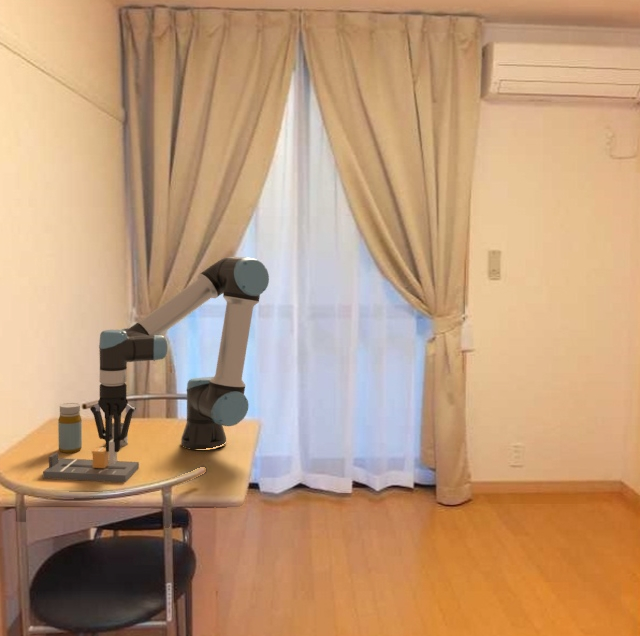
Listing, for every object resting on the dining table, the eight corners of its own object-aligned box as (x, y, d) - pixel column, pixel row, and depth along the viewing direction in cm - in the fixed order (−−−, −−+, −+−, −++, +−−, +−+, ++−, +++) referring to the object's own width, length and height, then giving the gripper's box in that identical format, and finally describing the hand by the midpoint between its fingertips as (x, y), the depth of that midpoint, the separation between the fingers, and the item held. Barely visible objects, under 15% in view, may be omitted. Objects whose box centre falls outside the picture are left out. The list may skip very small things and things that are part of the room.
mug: (128, 446, 226) (128, 427, 225) (107, 448, 224) (107, 428, 223) (126, 438, 235) (126, 419, 235) (106, 439, 233) (106, 420, 232)
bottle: (74, 454, 216) (73, 408, 214) (54, 452, 217) (53, 406, 216) (85, 448, 223) (85, 403, 221) (66, 446, 224) (66, 401, 223)
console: (138, 468, 205) (138, 452, 205) (125, 482, 193) (125, 465, 193) (60, 464, 206) (60, 448, 206) (43, 478, 194) (42, 461, 194)
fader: (109, 464, 201) (109, 447, 200) (104, 468, 197) (104, 451, 197) (96, 463, 201) (96, 446, 201) (91, 467, 197) (91, 450, 197)
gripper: (139, 381, 200) (138, 459, 202) (95, 379, 200) (95, 457, 203) (131, 387, 192) (130, 467, 195) (86, 385, 193) (86, 465, 195)
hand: (113, 462), depth 199 cm, fingers closed
